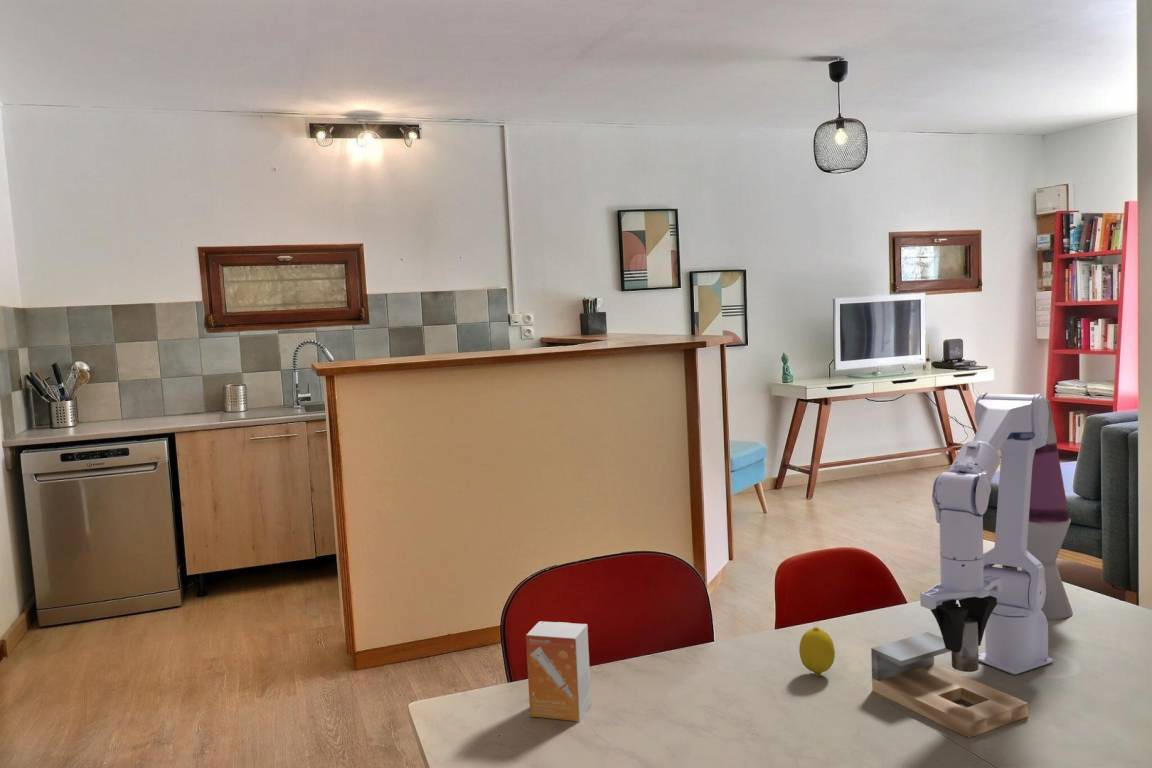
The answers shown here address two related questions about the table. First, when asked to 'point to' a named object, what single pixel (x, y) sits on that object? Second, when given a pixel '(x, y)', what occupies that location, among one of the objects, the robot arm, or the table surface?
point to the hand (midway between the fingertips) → (962, 647)
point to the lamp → (1049, 522)
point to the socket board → (939, 687)
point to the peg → (967, 648)
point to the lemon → (817, 650)
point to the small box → (558, 670)
